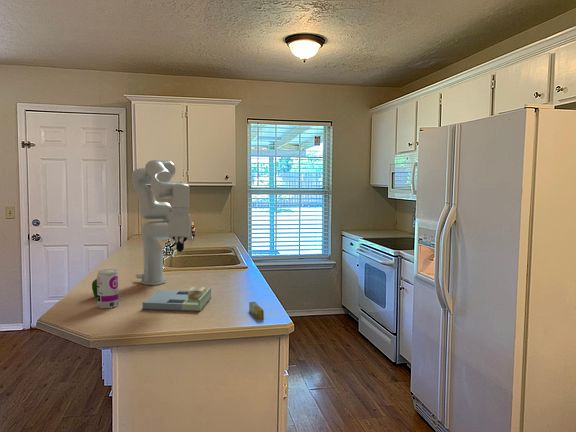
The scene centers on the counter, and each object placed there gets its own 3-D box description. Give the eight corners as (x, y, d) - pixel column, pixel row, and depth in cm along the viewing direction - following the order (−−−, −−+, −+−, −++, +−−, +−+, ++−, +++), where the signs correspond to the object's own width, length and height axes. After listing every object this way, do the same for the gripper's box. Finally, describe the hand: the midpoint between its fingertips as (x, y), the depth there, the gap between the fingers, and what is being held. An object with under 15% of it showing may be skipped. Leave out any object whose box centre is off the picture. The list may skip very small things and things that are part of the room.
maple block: (188, 299, 184) (188, 290, 184) (192, 295, 190) (192, 286, 190) (202, 300, 184) (202, 290, 184) (205, 296, 190) (205, 287, 190)
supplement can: (122, 304, 186) (122, 270, 184) (108, 310, 178) (108, 274, 177) (107, 302, 188) (106, 268, 187) (93, 307, 181) (92, 272, 179)
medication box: (248, 311, 181) (248, 302, 180) (255, 310, 182) (255, 301, 181) (257, 320, 170) (257, 310, 169) (264, 319, 171) (264, 309, 170)
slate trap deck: (142, 309, 179) (142, 297, 179) (159, 296, 199) (159, 285, 199) (199, 311, 178) (199, 299, 178) (211, 298, 198) (211, 287, 197)
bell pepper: (87, 298, 194) (87, 276, 193) (101, 293, 202) (101, 272, 201) (102, 300, 191) (101, 278, 190) (116, 295, 199) (115, 274, 198)
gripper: (161, 211, 192) (160, 251, 194) (194, 213, 191) (193, 254, 193) (167, 209, 199) (166, 248, 201) (199, 211, 198) (198, 250, 200)
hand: (180, 251), depth 197 cm, fingers closed
